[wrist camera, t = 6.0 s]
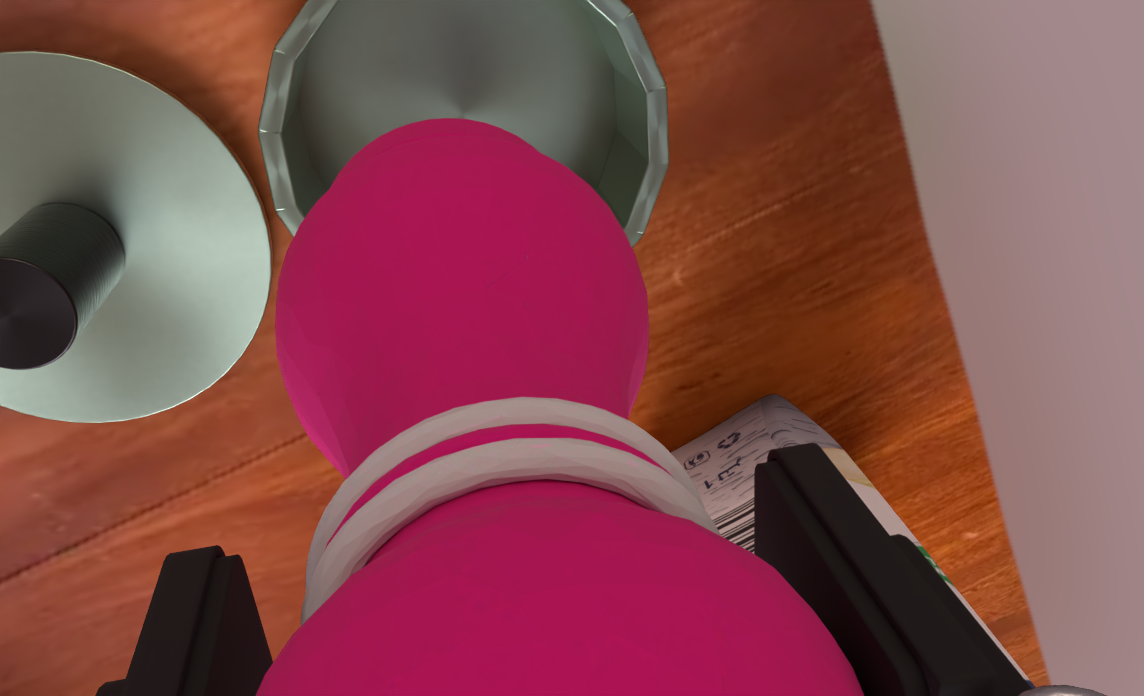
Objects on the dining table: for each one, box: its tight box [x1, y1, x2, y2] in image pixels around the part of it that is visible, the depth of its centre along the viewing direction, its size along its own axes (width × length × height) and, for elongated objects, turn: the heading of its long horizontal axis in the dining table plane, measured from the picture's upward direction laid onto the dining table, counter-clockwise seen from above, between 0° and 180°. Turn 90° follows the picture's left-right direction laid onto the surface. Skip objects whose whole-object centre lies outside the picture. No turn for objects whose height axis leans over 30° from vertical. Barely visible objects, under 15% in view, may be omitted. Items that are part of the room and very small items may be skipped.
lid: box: [0, 49, 273, 423], centre depth 31 cm, size 13×13×7 cm
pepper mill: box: [256, 118, 864, 696], centre depth 14 cm, size 7×7×20 cm
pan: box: [258, 0, 669, 248], centre depth 32 cm, size 12×12×5 cm
